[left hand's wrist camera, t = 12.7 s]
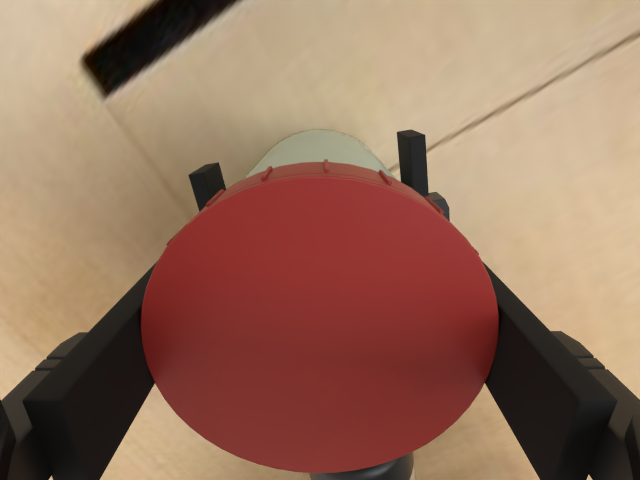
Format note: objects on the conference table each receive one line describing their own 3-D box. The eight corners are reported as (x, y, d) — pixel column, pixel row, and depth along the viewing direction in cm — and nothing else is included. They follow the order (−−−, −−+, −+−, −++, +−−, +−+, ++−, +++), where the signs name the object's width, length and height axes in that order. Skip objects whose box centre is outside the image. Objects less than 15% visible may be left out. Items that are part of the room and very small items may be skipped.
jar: (417, 204, 25) (544, 348, 11) (316, 287, 28) (313, 493, 14) (323, 96, 23) (329, 99, 8) (221, 198, 25) (91, 335, 11)
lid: (530, 318, 13) (568, 359, 11) (314, 461, 15) (312, 514, 13) (329, 80, 10) (331, 77, 8) (105, 305, 12) (66, 344, 10)
